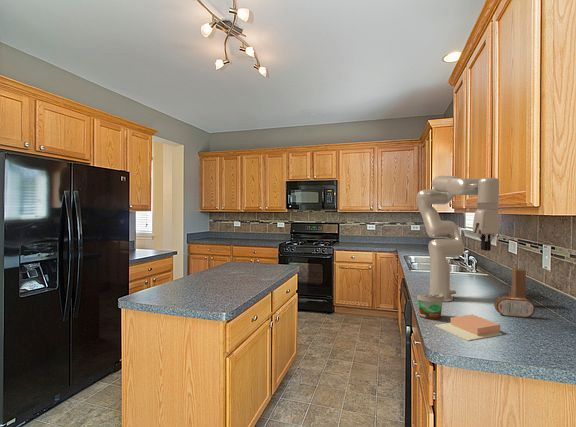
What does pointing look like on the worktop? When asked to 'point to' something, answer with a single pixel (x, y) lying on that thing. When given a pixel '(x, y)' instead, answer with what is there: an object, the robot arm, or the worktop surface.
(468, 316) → the tile
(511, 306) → the tin
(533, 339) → the worktop surface
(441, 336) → the worktop surface
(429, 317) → the food container
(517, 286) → the wooden block
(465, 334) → the mat
